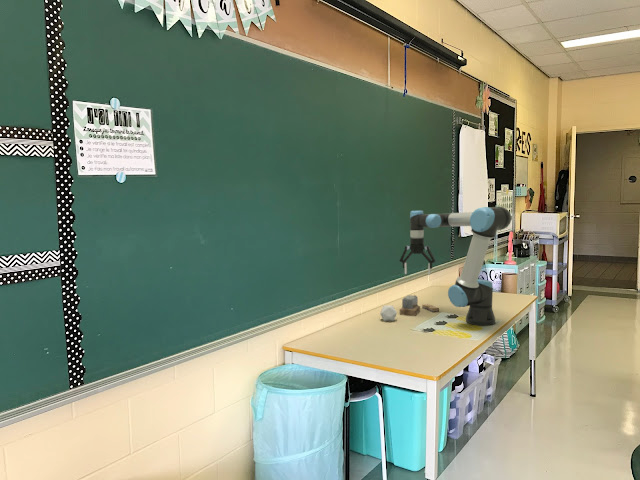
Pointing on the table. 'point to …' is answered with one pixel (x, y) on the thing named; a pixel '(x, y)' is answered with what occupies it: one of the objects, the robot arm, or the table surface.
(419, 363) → the table surface
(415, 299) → the block
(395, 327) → the table surface
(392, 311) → the die
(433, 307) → the felt eraser
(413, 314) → the plinth
